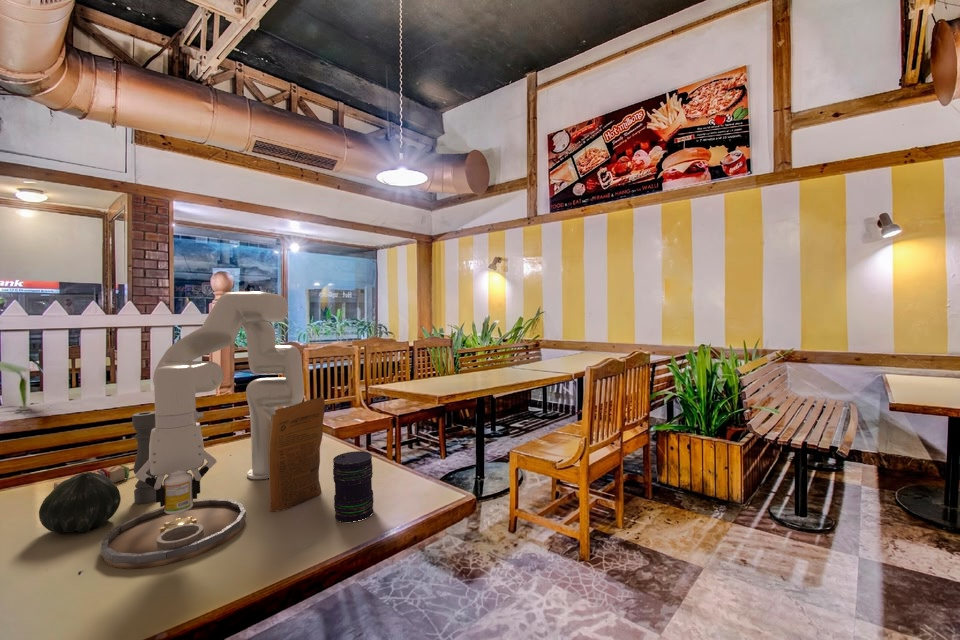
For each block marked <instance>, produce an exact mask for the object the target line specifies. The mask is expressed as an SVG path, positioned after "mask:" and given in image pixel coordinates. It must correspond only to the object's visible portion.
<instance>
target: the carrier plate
mask: <svg viewBox="0 0 960 640" xmlns="http://www.w3.org/2000/svg"><path fill="white" fill-rule="evenodd" d="M239 514H240V513H239V511H238V510H236V509H233V508H230V507H227V506H203V507H194V508H190V509H189V510H187V511H184V512H180V513H175V514H167V513H166V514H163V515H160V516H157V517H154V518H152V519H149V520H146V521H143V522H141V523H139V524H137V525H135V526H133V527H131V528H129V529H128V530H126V531H124V532H122V533H121V534H120V535H118V536H117V537H116V538H115V539H114V540H113V541H112V542H111V543H109V548H111V549H112V550H114V551H116V552H118V553H133V554H142V553H149V552H156V551H163V550H169V549H173V548H176V547H180V546H183V545H187V544H190V543H194V542H197V541H199V540H201V539H204V538H206V537H208V536H211V535H213V534H215V533H218V532H220V531H221V530H223V529H224V528H226V527H227V526H229V525H230V524H231V523H233V522H234V521H236V519H237V517H238V516H239ZM187 517H192V519H197V524H196V523H195V524H184V525H180V526H177V527H174V528H171V529H169V530H166V531H164V532H162V533H161V534H160V528H161V527H164V524H165V523H166V522H172V521H174V520H176V519H177V518H180V519H183V518H187ZM245 522H246V518H245V519H244V521H243V522H242V524H241V526H240V527H239V528H237V529H236V530H235V531H233V532H232V533H230V534H229V535H228V536H226V537H225V538H223V539H221V540H219V541H217V542H215V543H212V544H210V545H208V546H206V547H204V548H201V549H199V550H197V551H193V552H190V553H186V554H183V555H180V556H176V557H173V558H169V559H165V560H158V561H151V562H144V563H137V564H133V563H117V562H111V561H110V560H108V559H107V558H105V557H103V556H102V560H103V559H104V560H103V562H104V561H105V562H106V563H107V564H106V563H105V562H104V563H105V564H106V565H108V564H109V565H108V566H110V565H111V566H110V567H112V566H113V568H116V567H117V569H123V570H126V569H127V570H129V569H130V570H131V569H132V570H135V569H149V568H154V567H155V568H156V567H160V566H161V567H162V566H165V565H169V564H174V563H177V562H181V561H185V560H187V559H191V558H194V557H196V556H199V555H201V554H205V553H206V552H208V551H211V550H213V549H214V548H217V547H219V546H220V545H223V544H225V543H226V542H228V541H229V540H231V539H232V538H233V537H235V536H236V535H237V534H238V533H239V532H240V531H241V530H242V529H243V528H244V526H245Z"/></svg>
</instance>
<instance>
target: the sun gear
mask: <svg viewBox="0 0 960 640" xmlns="http://www.w3.org/2000/svg"><path fill="white" fill-rule="evenodd" d="M195 523H196V524H197V519H192V517H187V518H183V519H180V518H177V519H176V520H174V521H172V522H166V523H165V524H164V527H161V528H160V534H161V533H162V532H164V531H166V530H169V529H171V528H174V527H177V526H180V525H184V524H195Z"/></svg>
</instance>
